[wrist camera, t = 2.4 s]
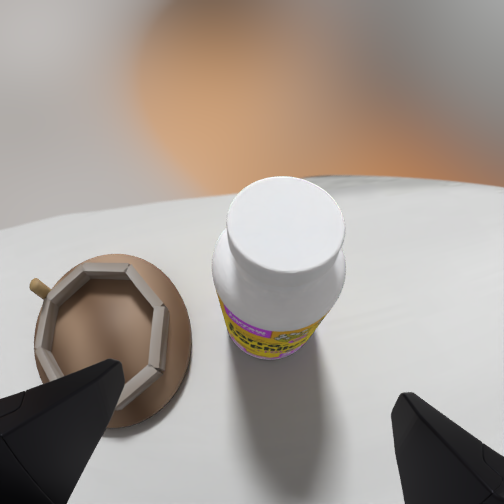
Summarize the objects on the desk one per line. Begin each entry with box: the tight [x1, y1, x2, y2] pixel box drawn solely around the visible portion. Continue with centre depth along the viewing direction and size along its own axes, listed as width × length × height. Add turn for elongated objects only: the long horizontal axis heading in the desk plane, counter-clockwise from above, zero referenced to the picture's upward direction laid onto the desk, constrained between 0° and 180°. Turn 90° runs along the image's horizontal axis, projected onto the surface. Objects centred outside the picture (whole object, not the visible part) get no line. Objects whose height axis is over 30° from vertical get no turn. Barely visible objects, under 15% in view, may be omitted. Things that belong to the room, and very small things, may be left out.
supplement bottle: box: [212, 176, 346, 360], centre depth 17 cm, size 7×7×13 cm
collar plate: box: [30, 254, 191, 428], centre depth 20 cm, size 15×15×4 cm
